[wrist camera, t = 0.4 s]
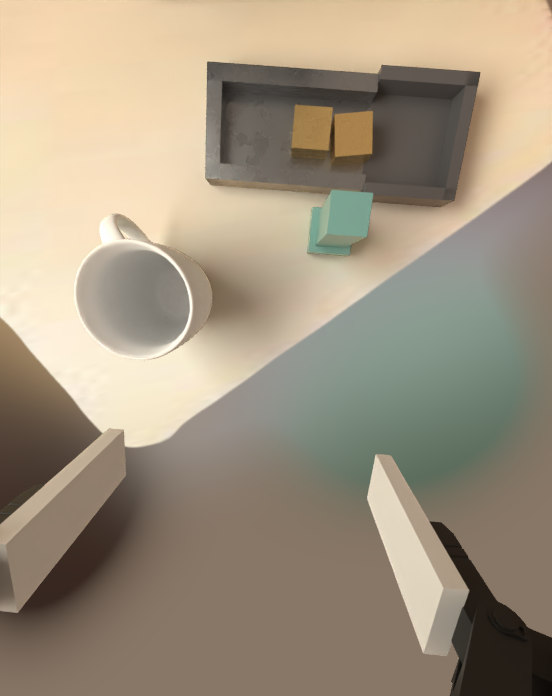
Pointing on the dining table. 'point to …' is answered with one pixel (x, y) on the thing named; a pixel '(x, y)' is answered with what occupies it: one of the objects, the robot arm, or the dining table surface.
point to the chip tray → (419, 134)
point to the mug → (140, 293)
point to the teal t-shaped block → (339, 222)
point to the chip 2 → (351, 137)
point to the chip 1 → (311, 131)
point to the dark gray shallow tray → (277, 125)
